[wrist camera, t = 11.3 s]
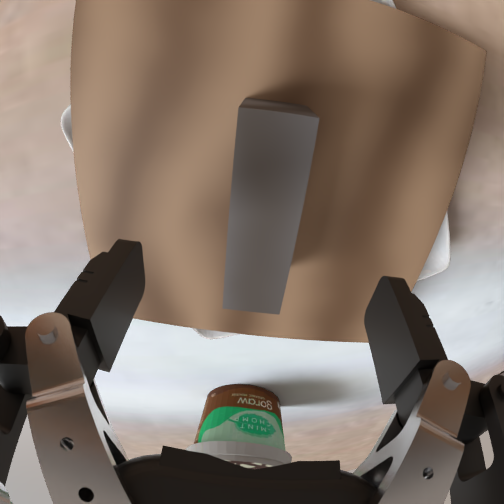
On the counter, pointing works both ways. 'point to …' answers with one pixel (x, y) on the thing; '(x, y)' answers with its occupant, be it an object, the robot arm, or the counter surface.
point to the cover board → (192, 142)
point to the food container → (242, 427)
